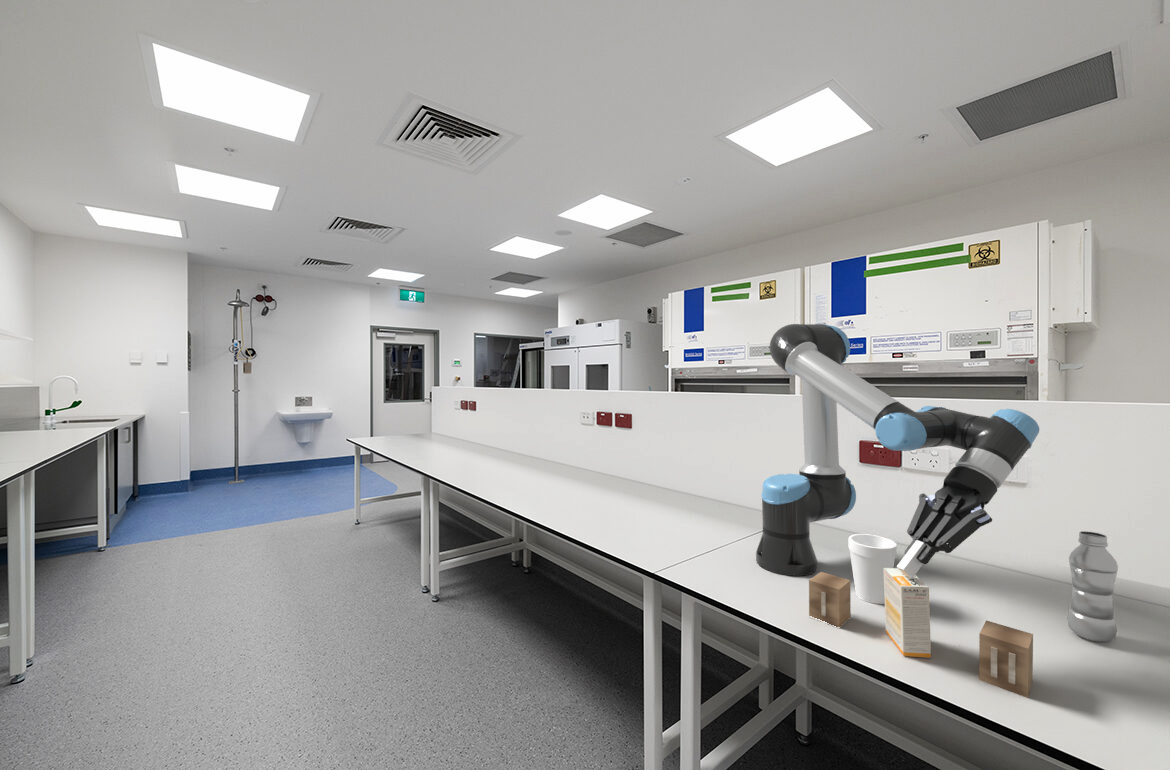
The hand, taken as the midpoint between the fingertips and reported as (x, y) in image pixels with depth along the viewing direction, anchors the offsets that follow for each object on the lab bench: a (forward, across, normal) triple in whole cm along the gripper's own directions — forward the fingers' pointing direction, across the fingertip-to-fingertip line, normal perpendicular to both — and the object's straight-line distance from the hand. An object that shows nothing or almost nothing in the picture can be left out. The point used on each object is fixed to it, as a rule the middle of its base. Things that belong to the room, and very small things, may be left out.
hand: (904, 572), depth 88 cm
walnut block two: (+4, -11, -16) cm, 20 cm away
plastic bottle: (-16, -6, -37) cm, 40 cm away
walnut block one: (+14, +13, -7) cm, 20 cm away
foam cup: (+3, +18, -18) cm, 26 cm away
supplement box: (+9, +1, -12) cm, 15 cm away
